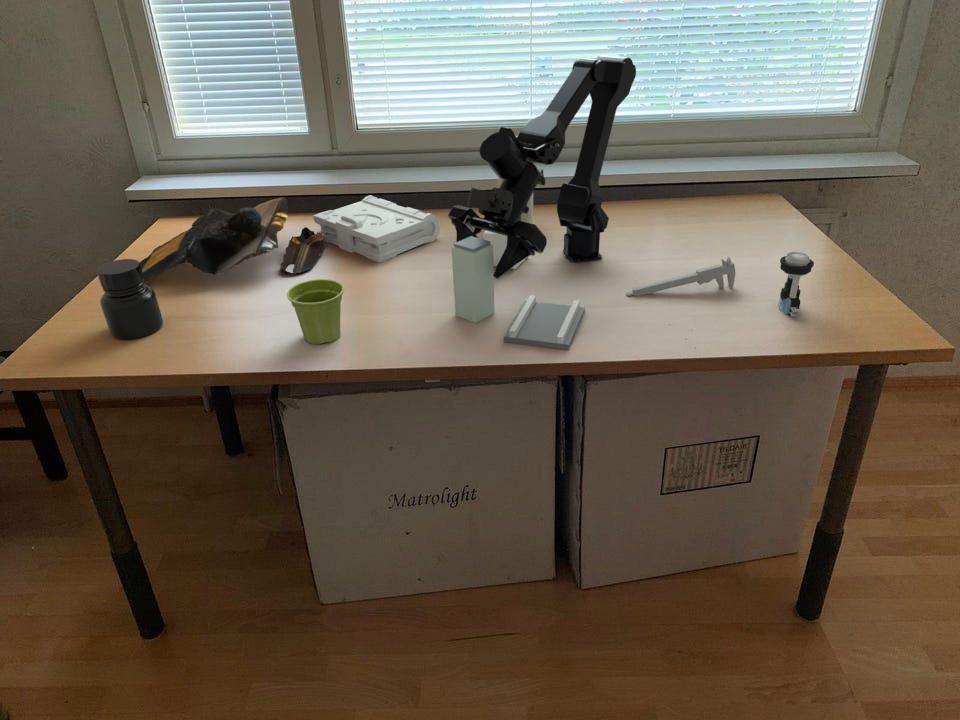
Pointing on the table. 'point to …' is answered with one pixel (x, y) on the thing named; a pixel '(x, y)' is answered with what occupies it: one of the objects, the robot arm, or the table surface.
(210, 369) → the table surface
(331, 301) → the plant pot
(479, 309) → the block
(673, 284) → the caliper
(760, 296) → the table surface
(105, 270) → the ink bottle
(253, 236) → the toolset
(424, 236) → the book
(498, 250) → the medicine bottle
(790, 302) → the push button
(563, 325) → the rail plate
